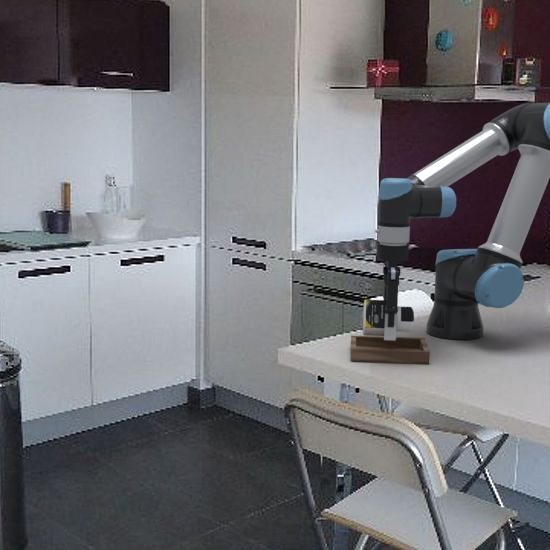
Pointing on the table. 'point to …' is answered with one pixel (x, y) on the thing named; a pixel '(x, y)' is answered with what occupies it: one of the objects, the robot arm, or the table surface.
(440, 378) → the table surface
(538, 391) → the table surface
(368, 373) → the table surface
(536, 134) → the robot arm
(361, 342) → the walnut tray
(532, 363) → the table surface
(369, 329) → the medicine bottle
